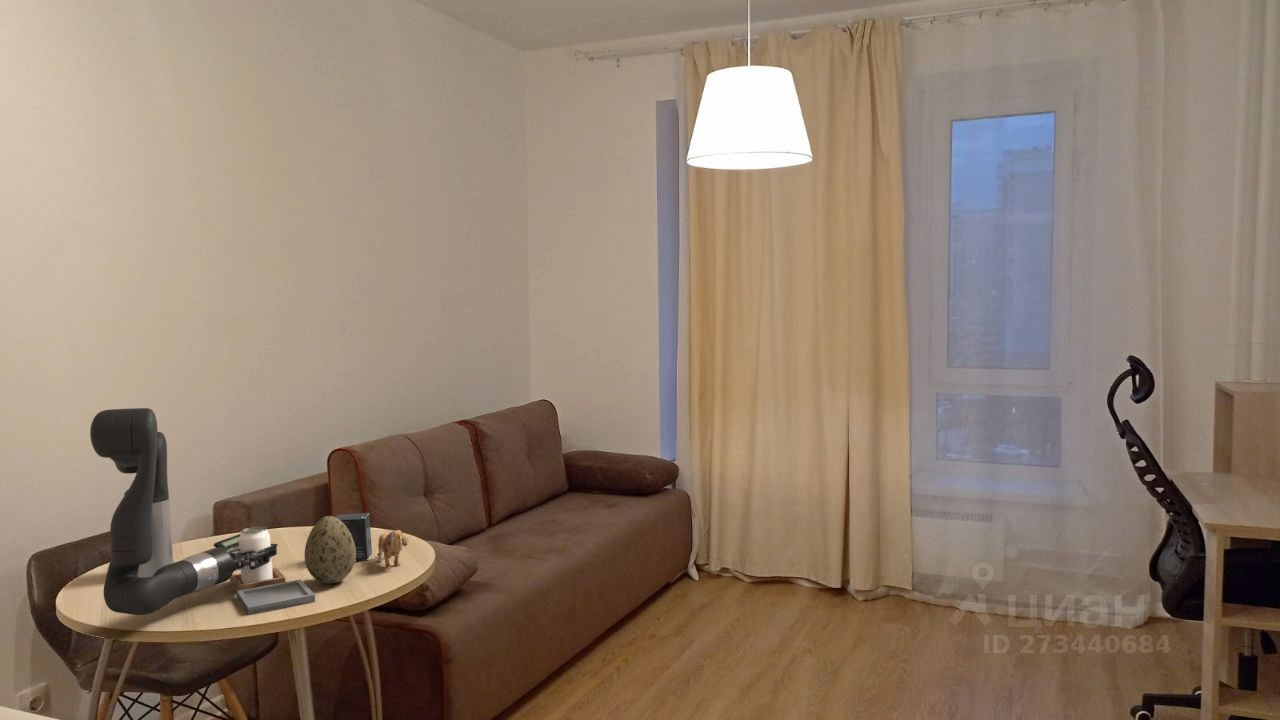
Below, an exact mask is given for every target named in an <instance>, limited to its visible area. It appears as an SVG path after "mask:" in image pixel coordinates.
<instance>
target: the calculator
mask: <svg viewBox="0 0 1280 720" xmlns="http://www.w3.org/2000/svg"><path fill="white" fill-rule="evenodd" d="M240 534H241V533H239V534H236V535H233V536H230V537H228V538H224V539H222V540H220V541H217V542H214V543H213V547H214V548H227V547H232V548H235V547H239V537H240ZM270 544H271V546H272V545H274V546H276V547H278V543H270Z"/></svg>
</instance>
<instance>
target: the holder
mask: <svg viewBox="0 0 1280 720" xmlns="http://www.w3.org/2000/svg"><path fill="white" fill-rule="evenodd" d="M272 573H273V579H268V580H263V581H257V582H252V583H246V584H242V583H241V582H242V579H241V572H240V573H235V574H234V573H233V574H232V576H231V577H230V579H229V583H230V585H231V586H232V587H233V590H235V592H236V593H237V591H240V590H246V589H251V588H256V587H262V586H267V585H273V584H278V583H284V582H286V576H284V574H283V573H282V572H281V571H280V570H279V569H278V567H276V566H273V567H272Z"/></svg>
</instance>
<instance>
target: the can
mask: <svg viewBox="0 0 1280 720" xmlns="http://www.w3.org/2000/svg"><path fill="white" fill-rule="evenodd" d="M239 534H240V537H239V551H240V552H241V551H246V550H250V549H251V550H253V551H256V550H260V549H264V548H267V547H270V546H271V544H272V543H271V535H270V532H269V531H268V527H267V526H253V527H247V528H243V529H242V530H240V533H239ZM255 555H257V554H255ZM247 556H248V560H249V554H247ZM272 558H273V557H270V558H269V562H268V563H266V564H264V565H262V566H260V567H258V568H256V569H254V570H250V567H246V568H243V569H241V570H240V573H241V579H242V581H241V584H246V583H252V582H257V581H263V580H268V579H274V576H273V573H272V568H273V560H272Z"/></svg>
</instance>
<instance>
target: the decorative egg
mask: <svg viewBox="0 0 1280 720" xmlns="http://www.w3.org/2000/svg"><path fill="white" fill-rule="evenodd" d="M355 559H356V548H355V543H354V540H353V538H352V535H351V533H350V531H349V530H348V528H347V527H346V526H345V524H344V523H343V522H342V521H340V520H339V519H338V518H336V516H333V515H326V516H323V517H321V518H320V519H319V520H318V521H317V522H316V523H315V524H314V526H313V527H312V529H311V530H310V533H309V534H308V536H307V539H306V542H305V548H304V563H305V565H306V569H307V571H308V572H309V574H310V575H311V577H313V578H314V579H315V580H316V581H318V582H320V583H323V584H327V585H331V584H337V583H340V582H342V581H343V580H344V579H346V578H347V577H348V575H349V574H350V573H351V572H352V570H353V568H354V566H355V563H356V561H355Z"/></svg>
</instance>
